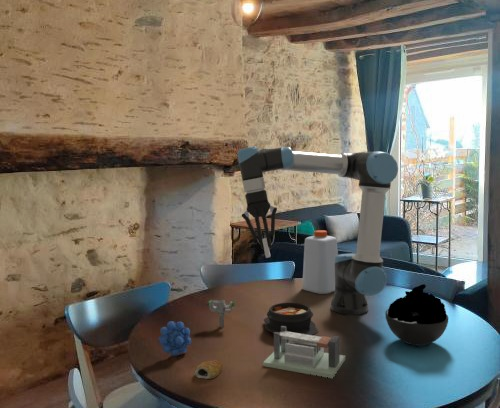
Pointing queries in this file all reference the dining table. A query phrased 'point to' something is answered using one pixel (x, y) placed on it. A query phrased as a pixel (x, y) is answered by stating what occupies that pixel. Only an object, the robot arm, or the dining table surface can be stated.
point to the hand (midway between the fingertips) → (268, 256)
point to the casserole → (290, 318)
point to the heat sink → (305, 351)
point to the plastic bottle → (319, 263)
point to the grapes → (175, 338)
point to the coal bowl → (417, 317)
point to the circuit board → (319, 369)
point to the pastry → (208, 369)
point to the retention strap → (305, 338)
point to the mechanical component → (220, 309)
